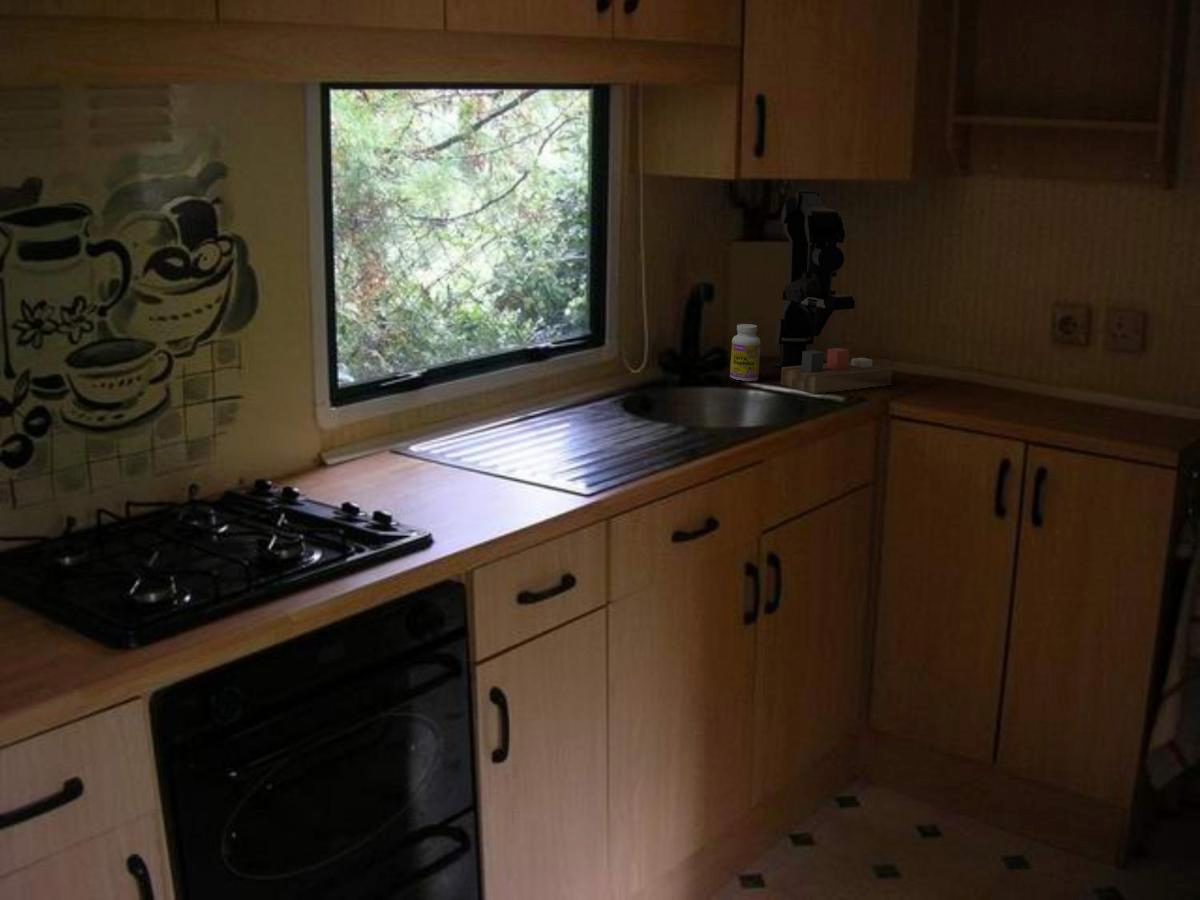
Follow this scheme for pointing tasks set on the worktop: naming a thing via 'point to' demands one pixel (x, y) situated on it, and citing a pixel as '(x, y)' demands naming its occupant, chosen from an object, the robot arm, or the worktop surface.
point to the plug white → (861, 362)
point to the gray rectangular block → (812, 361)
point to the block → (836, 378)
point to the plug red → (837, 359)
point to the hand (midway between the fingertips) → (815, 335)
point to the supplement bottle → (745, 353)
